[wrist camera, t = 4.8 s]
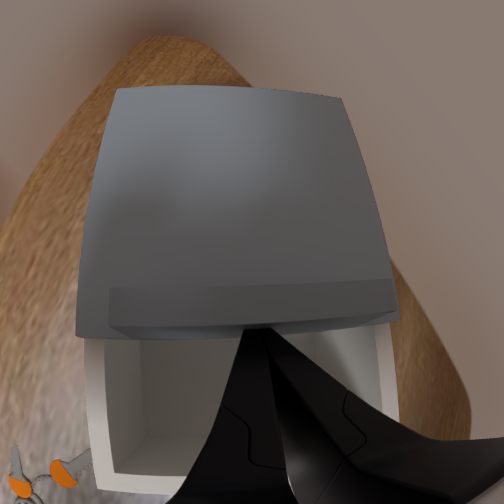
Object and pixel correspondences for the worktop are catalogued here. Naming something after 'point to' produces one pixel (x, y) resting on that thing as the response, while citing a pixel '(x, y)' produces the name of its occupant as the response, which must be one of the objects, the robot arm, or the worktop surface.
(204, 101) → the lid
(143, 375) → the mailer box
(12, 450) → the key chain
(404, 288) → the worktop surface
